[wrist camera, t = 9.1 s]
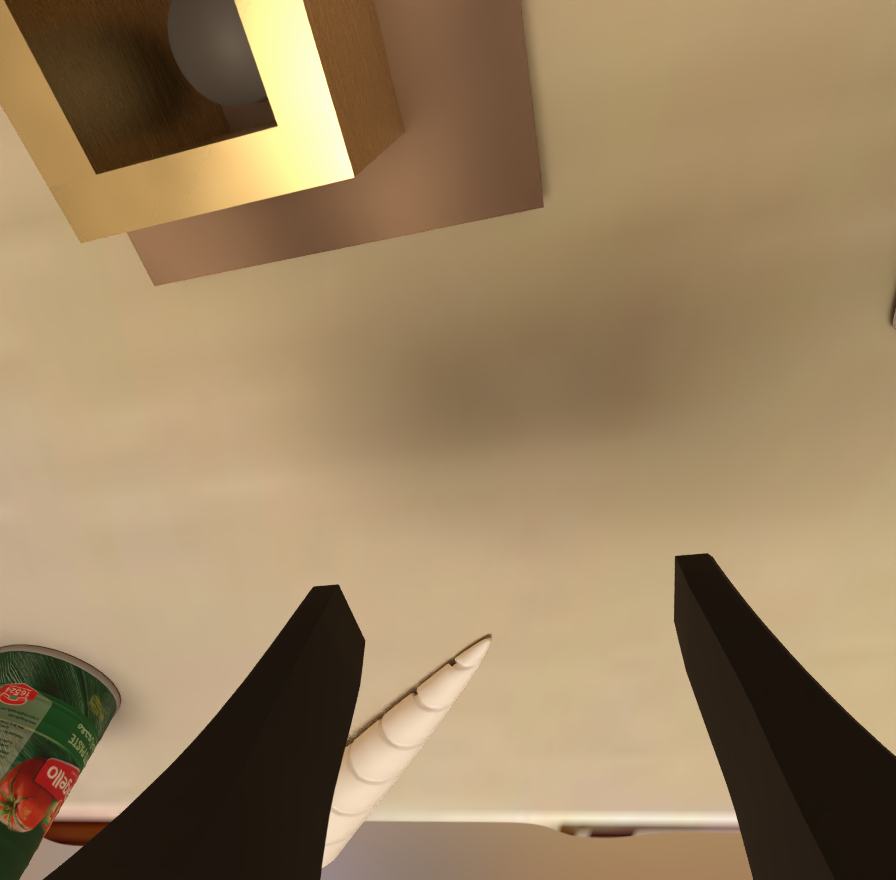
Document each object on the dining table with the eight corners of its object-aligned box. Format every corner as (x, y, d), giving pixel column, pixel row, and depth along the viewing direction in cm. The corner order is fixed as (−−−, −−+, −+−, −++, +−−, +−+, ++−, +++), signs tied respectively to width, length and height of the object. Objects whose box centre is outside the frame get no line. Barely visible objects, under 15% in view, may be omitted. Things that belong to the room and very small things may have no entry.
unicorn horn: (550, 658, 29) (557, 753, 25) (342, 804, 42) (325, 883, 38) (475, 621, 28) (470, 715, 24) (284, 783, 40) (260, 862, 36)
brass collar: (334, -166, 11) (207, -324, 7) (405, 132, 14) (354, 177, 10) (103, -82, 13) (-154, -163, 8) (214, 180, 16) (80, 243, 11)
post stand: (478, -352, 11) (467, -525, 7) (541, 197, 16) (550, 236, 13) (-35, -149, 13) (-216, -214, 10) (173, 273, 18) (102, 322, 15)
